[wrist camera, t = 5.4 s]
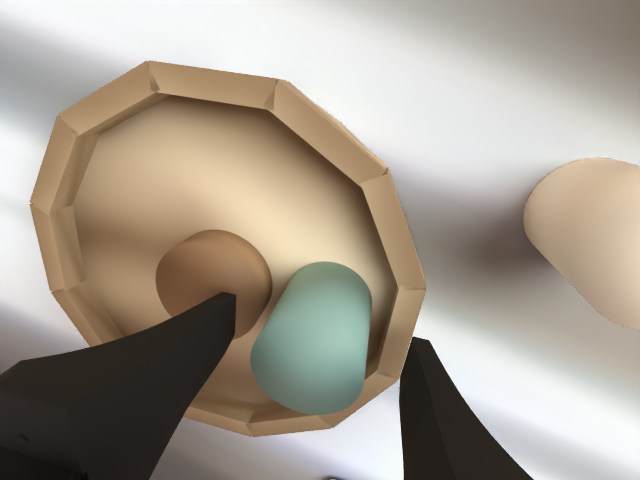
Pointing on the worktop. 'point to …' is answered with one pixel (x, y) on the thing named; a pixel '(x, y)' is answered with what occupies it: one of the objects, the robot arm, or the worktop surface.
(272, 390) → the bead teal
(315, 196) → the ring tray
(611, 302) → the bead cream
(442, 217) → the worktop surface
